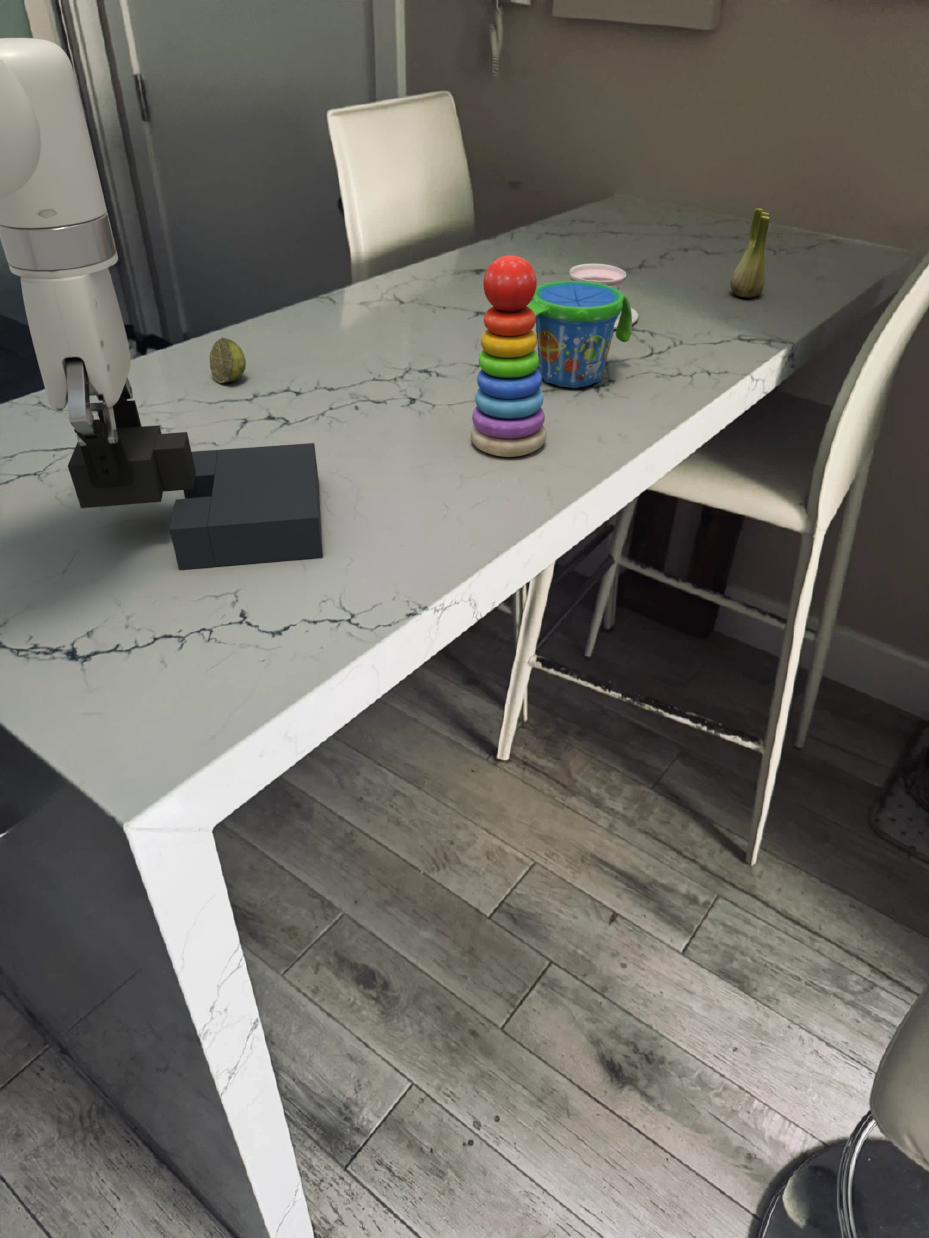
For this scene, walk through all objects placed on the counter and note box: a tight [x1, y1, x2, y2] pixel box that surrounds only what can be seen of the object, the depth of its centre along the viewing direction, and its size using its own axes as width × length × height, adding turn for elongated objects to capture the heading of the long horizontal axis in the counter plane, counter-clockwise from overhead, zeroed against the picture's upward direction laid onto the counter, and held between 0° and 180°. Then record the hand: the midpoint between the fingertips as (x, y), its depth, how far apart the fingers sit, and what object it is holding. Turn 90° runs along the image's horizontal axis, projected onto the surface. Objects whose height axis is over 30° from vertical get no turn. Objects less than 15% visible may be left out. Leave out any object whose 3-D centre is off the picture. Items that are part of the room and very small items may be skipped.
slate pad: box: [169, 442, 324, 571], centre depth 78 cm, size 12×14×4 cm
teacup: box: [568, 263, 639, 330], centre depth 122 cm, size 12×12×6 cm
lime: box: [209, 337, 247, 384], centre depth 104 cm, size 4×5×5 cm
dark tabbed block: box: [67, 424, 196, 509], centre depth 75 cm, size 9×6×4 cm
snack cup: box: [527, 280, 633, 389], centre depth 103 cm, size 16×10×10 cm
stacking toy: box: [470, 254, 547, 458], centre depth 86 cm, size 8×8×19 cm
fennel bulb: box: [730, 207, 771, 298], centre depth 128 cm, size 6×5×12 cm
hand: (119, 462), depth 74 cm, fingers closed on dark tabbed block, 6 cm apart
